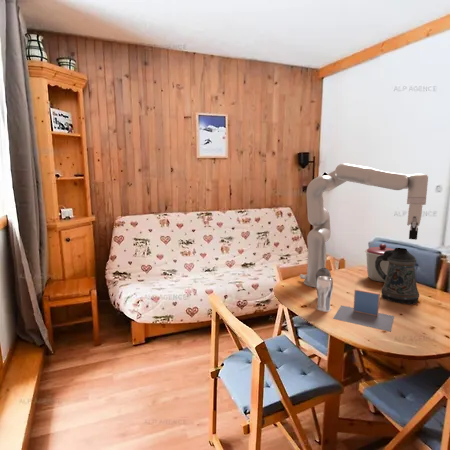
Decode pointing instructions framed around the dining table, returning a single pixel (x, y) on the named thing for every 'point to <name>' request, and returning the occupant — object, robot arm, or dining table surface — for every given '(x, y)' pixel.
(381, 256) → the beer stein
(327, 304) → the beer glass
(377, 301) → the tile
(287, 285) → the dining table surface
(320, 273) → the beverage cup
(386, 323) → the mat
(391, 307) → the dining table surface
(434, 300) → the dining table surface
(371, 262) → the canister
